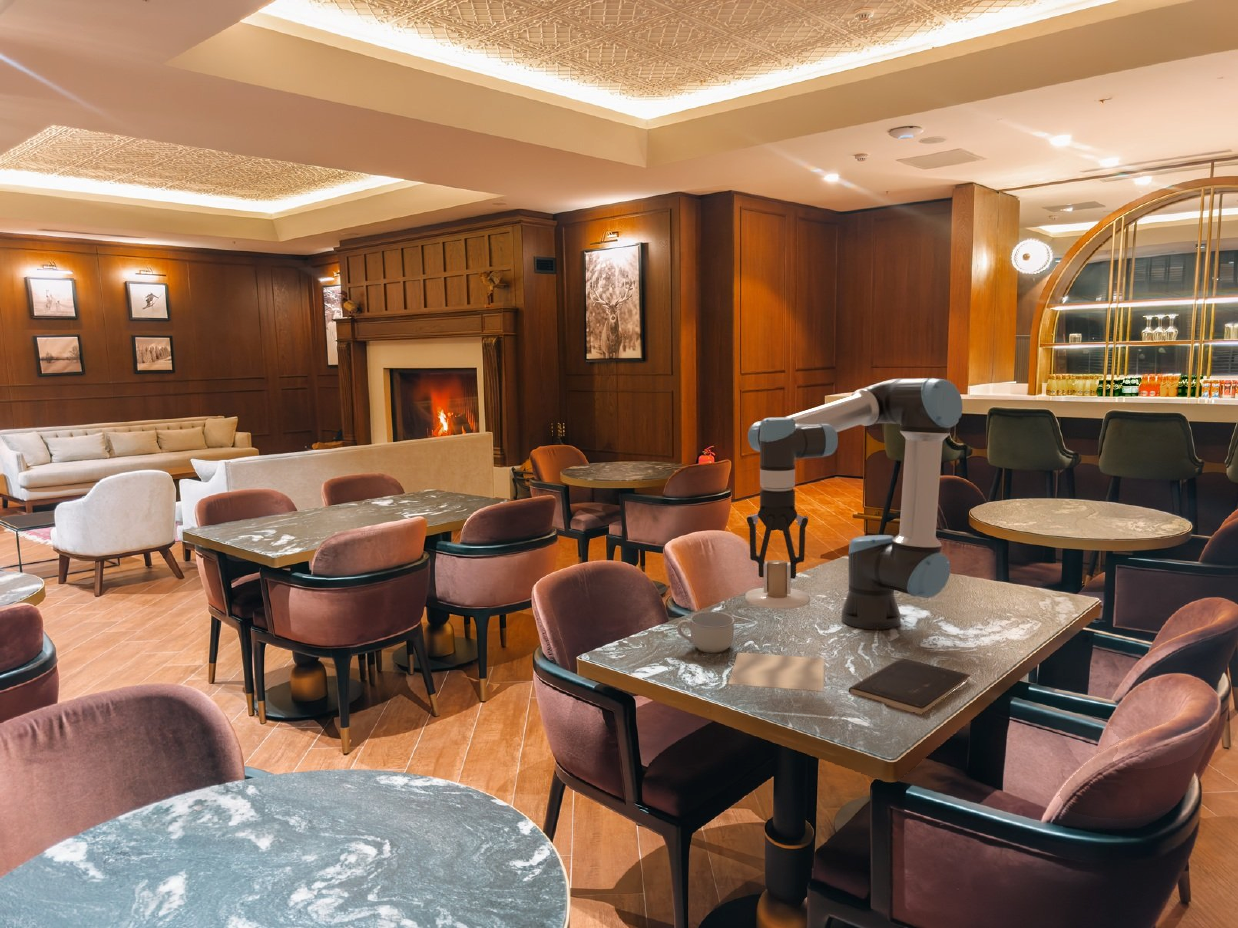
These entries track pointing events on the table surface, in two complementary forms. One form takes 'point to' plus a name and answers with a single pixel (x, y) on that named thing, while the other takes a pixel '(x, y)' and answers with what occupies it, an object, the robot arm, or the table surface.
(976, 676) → the table surface
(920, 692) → the hardcover book
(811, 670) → the mat
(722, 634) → the teacup
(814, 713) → the table surface
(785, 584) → the lid
